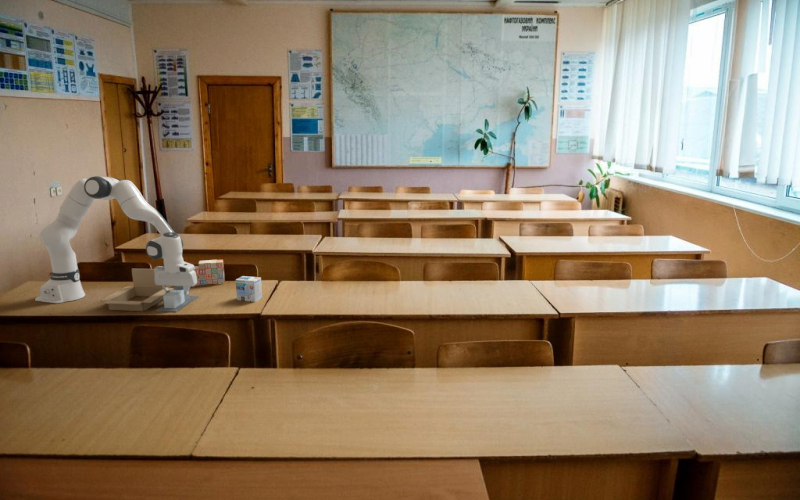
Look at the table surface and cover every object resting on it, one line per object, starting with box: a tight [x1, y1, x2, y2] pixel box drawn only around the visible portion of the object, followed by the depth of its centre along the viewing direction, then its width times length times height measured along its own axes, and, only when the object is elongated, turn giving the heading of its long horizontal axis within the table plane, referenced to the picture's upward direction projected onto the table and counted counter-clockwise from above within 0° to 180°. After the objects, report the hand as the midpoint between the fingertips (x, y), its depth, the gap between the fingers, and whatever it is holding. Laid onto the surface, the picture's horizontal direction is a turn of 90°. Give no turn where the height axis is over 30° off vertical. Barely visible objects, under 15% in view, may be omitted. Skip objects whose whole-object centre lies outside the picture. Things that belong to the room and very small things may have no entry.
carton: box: [99, 268, 174, 312], centre depth 286 cm, size 26×25×14 cm
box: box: [162, 286, 191, 308], centre depth 285 cm, size 5×15×8 cm, turn 172°
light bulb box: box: [235, 275, 263, 303], centre depth 291 cm, size 11×7×11 cm, turn 73°
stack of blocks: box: [193, 259, 226, 287], centre depth 317 cm, size 21×6×12 cm, turn 103°
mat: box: [155, 295, 199, 313], centre depth 286 cm, size 10×22×1 cm, turn 172°
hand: (177, 294), depth 286 cm, fingers open, 8 cm apart
